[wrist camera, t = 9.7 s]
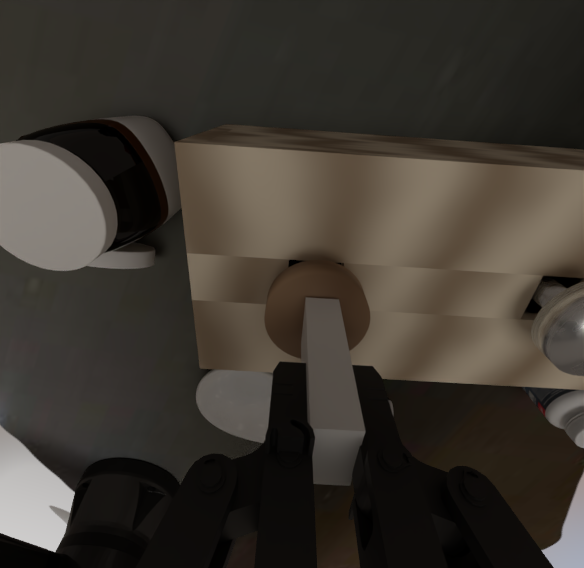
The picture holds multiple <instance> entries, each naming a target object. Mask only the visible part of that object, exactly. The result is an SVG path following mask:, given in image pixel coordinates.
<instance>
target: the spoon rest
mask: <svg viewBox="0 0 584 568" xmlns="http://www.w3.org/2000/svg"><path fill="white" fill-rule="evenodd" d="M272 379H273V373H271V372H253V371H235V370H217V369H212V370H211V371H209V372H208V373H207V374H206V375H204V377H203V378H202V379H201V381H200V382H199V384H198V387H197V390H196V402H197V405H198V408H199V410H200V412H201V413H202V415H203V416H204V417H205V418H206V419H207V420H208V421H209V422H210V423H211V424H213V425H214V426H216V427H217V428H219V429H221V430H223V431H225V432H227V433H229V434H232V435H234V436H237V437H240V438H244V439H247V440H251V441H256V442H260V443H264V441H265V435H266V432H267V429H268V422H269V411H270V401H271V390H272ZM388 401H389V404H390V407H391V411H392V414H393V405H392V402H391V401H390V400H388Z"/></svg>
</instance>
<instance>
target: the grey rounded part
mask: <svg viewBox="0 0 584 568" xmlns="http://www.w3.org/2000/svg"><path fill="white" fill-rule="evenodd" d="M531 299H533V300H534V301H535V302H536V303H537V304H538V305H540V306H541V307H542V309H541V310H540V311H539V313H538V314H537V316H536V317H535V320H534V322H533V325H532V329H531V337H532V340H533V342H534V344H535V346H536V347H537V348H538V349H539V350H540V351H541V352H542V353H543V354H544V355H545V356H546V357H547V358H548V359H549V360H550V361H551V362H552V363H553V364H554V365H555V366H556V367H557V368H558V369H559V370H561V371H562V372H564V373H567V374H570V375H576V376H584V282H581V283H579V284H576V285H573V286H571V287H569V288H566V287H564V286H563V285H562V284H560V283H559V282H557V281H556V280H554V279H553V278H552V277H550V276H543V277H542V279H541V281H540V283H539V285H538V287H537V289H536V290H535V292H534V294H533V296H532V298H531Z"/></svg>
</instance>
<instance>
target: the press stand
mask: <svg viewBox="0 0 584 568" xmlns="http://www.w3.org/2000/svg"><path fill="white" fill-rule="evenodd" d="M174 144H175V153H176V162H177V171H178V180H179V188H180V197H181V206H182V215H183V224H184V233H185V241H186V250H187V259H188V268H189V277H190V286H191V294H192V303H193V312H194V321H195V330H196V338H197V347H198V356H199V365H200V369H217V370H235V371H253V372H271V373H273V371H274V369H275V368H276V366H277V365H278V363H279V362H280V361H281V362H298V363H301V359H300V358H296V357H293V356H291V355H289V354H287V353H285V352H284V351H282V350H281V349H279V348H278V347H277V346H276V345H275V344H274V343H273V341H272V340H271V339H270V337H269V335H268V333H267V331H266V328H265V321H264V317H265V309H266V302H267V296H268V292H269V289H270V287H271V285H272V283H273V281H274V280H275V279H276V277H277V276H278V275H279V274H280V273H281V272H283V271H284V270H285V269H287V268H288V267H289V260H303V261H309V260H325V261H331V262H334V263H341V265H342V266H343V267H345V268H347V269H348V270H350V271H351V272H352V273H353V274H354V275H355V276H356V277H357V279H358V280H359V282H360V283H361V285H362V288H363V291H364V294H365V297H366V299H367V302H368V305H369V309H370V325H369V328H368V331H367V333H366V335H365V336H364V338H363V339H362V340H361V342H360V343H359V344H358V345H357V346H356V347H354V348H353V349H352V350H350V351H349V352H350V357H351V362H352V365H363V366H373V367H374V368H375V369H376V371H377V372H378V373H379V374H380V376H381V377H382V379H396V380H414V381H432V382H449V383H467V384H485V385H503V386H521V387H539V388H557V389H575V390H584V376H576V375H570V374H567V373H564V372H562V371H561V370H559V369H558V368H557V367H556V366H555V365H554V364H553V363H552V362H551V361H550V360H549V359H548V358H547V357H546V356H545V355H544V354H543V353H542V352H541V351H540V350H539V349H538V348H537V347H536V346H535V344H534V342H533V340H532V337H531V329H532V325H533V322H534V320H535V317H536V316H537V314H538V313H539V311H540V310H541V309H542V307H541V306H540V305H538V304H537V303H536V302H535V301H534V300H533V299H531V298H532V296H533V294H534V292H535V290H536V289H537V287H538V285H539V283H540V281H541V279H542V277H543V276H550V277H552V278H553V279H554V280H556V281H557V282H559V283H560V284H562V285H563V286H564V287H566V288H569V287H571V286H573V285H576V284H579V283H581V282H584V150H581V149H569V148H555V147H541V146H527V145H513V144H498V143H484V142H470V141H456V140H442V139H428V138H414V137H400V136H385V135H371V134H357V133H343V132H329V131H315V130H301V129H287V128H273V127H258V126H244V125H230V124H225V125H222V126H219V127H216V128H213V129H211V130H208V131H205V132H202V133H199V134H196V135H193V136H190V137H187V138H184V139H182V140H179V141H176V142H174Z"/></svg>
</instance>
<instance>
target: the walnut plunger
mask: <svg viewBox="0 0 584 568" xmlns="http://www.w3.org/2000/svg"><path fill="white" fill-rule="evenodd" d="M306 297H308V298H324V299H339V302H340V307H341V312H342V317H343V322H344V327H345V332H346V337H347V342H348V347H349V351H350V350H352V349H353V348H354V347H356V346H357V345H358V344H359V343H360V342H361V340H362V339H363V338H364V336H365V335H366V333H367V331H368V328H369V325H370V309H369V305H368V302H367V299H366V297H365V294H364V291H363V288H362V285H361V283H360V282H359V280H358V279H357V277H356V276H355V275H354V274H353V273H352V272H351V271H350V270H348V269H347V268H345V267H343V266H342V265H340V264H337V263H334V262H331V261H325V260H309V261H303V260H299V263H297V264H294V265H292V266H290V267H288V268H287V269H285V270H284V271H283V272H281V273H280V274H279V275H278V276H277V277H276V279H275V280H274V281H273V283H272V285H271V287H270V289H269V292H268V296H267V302H266V309H265V317H264V321H265V328H266V331H267V333H268V335H269V337H270V339H271V340H272V341H273V343H274V344H275V345H276V346H277V347H278V348H279V349H281V350H282V351H284V352H285V353H287V354H289V355H291V356H293V357H296V358H300V359H301V339H302V329H303V319H304V309H305V299H306Z"/></svg>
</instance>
